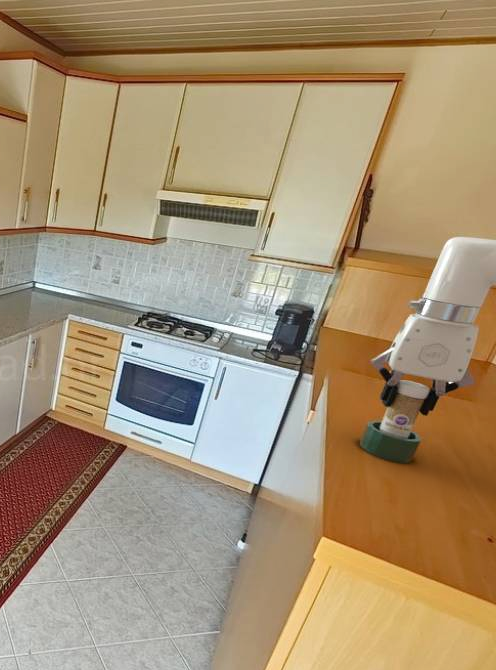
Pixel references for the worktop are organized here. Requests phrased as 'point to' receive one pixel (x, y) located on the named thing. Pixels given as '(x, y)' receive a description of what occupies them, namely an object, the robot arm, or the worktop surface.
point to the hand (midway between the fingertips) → (403, 407)
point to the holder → (389, 444)
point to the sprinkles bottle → (404, 409)
